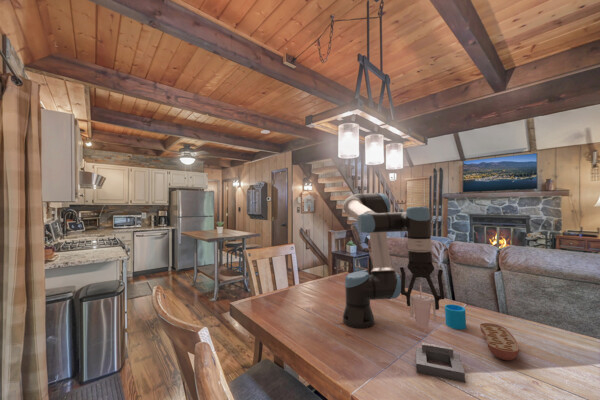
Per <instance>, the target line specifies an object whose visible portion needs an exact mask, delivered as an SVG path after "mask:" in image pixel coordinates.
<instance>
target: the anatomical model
mask: <svg viewBox="0 0 600 400" xmlns="http://www.w3.org/2000/svg"><path fill="white" fill-rule="evenodd" d="M479 326H480V328H479V329H480V331H481V333H482V334H483V336H484V337H485V338H486V344H487V345H486V346H487V348H488V351H490V353H492V355H493V356H494V357H496V358H497V359H500V360H504V361H512V360H514V359H516V358H517V356H518V354H519V348H520V347H519V345H518V342H517V340H516V337H515V336H514V335H513V334H512V333H511V331H509V330H508V328H505V327H504V326H503V325H499V324H495V323H491V322H490V323H489V322H483V323H480V325H479Z"/></svg>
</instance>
